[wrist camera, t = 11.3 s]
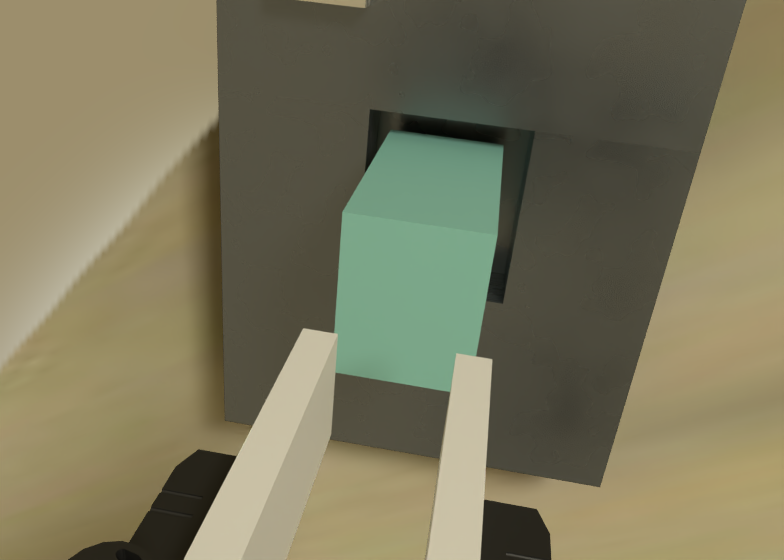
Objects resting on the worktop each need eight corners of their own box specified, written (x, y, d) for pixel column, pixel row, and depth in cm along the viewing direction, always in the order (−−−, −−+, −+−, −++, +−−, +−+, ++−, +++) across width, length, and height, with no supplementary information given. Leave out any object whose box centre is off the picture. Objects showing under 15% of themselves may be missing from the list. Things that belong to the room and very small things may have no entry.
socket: (592, 433, 33) (601, 501, 29) (251, 374, 34) (218, 432, 31) (747, -120, 23) (793, -126, 19) (252, -168, 24) (202, -182, 20)
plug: (483, 258, 29) (469, 395, 21) (384, 243, 29) (331, 371, 21) (504, 135, 26) (497, 235, 18) (396, 120, 27) (342, 211, 19)
